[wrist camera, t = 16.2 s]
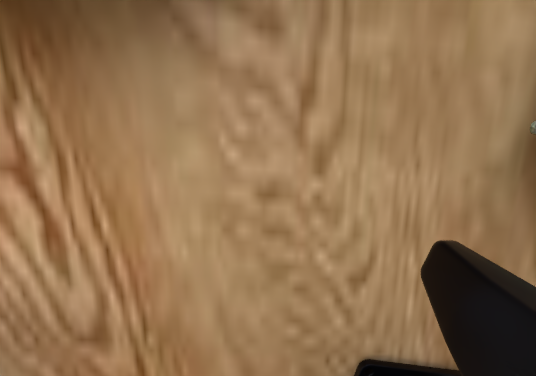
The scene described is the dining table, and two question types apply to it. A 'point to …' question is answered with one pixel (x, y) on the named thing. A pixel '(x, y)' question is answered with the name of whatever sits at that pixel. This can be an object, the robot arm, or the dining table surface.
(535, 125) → the vessel
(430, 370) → the robot arm
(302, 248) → the dining table surface
